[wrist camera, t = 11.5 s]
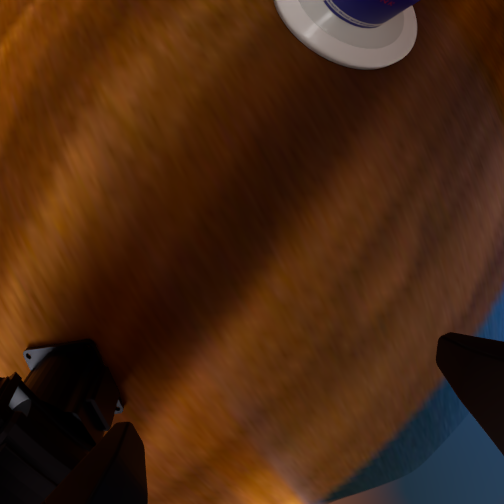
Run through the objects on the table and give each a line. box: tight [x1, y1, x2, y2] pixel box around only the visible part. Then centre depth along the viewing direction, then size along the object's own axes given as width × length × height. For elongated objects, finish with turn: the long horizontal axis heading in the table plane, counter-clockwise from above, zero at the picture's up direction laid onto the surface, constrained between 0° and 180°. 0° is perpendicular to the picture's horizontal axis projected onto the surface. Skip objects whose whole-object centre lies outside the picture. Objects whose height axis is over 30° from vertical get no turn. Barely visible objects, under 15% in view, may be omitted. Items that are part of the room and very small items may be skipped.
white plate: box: [274, 0, 417, 70], centre depth 17 cm, size 11×11×1 cm
